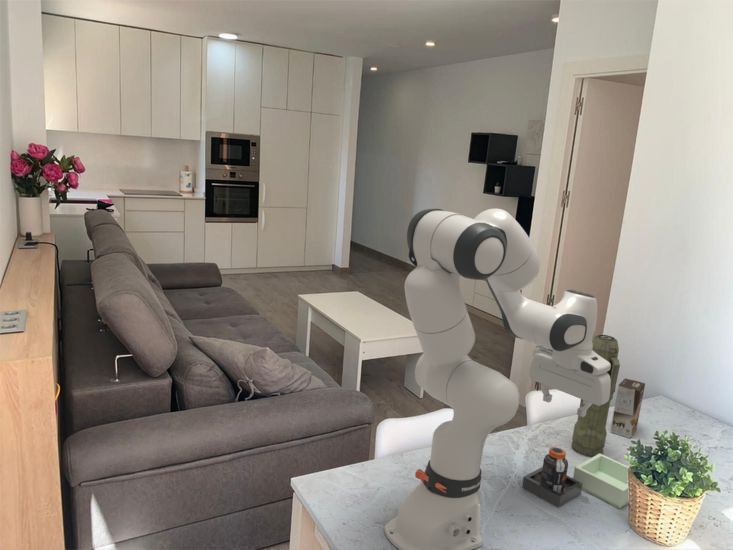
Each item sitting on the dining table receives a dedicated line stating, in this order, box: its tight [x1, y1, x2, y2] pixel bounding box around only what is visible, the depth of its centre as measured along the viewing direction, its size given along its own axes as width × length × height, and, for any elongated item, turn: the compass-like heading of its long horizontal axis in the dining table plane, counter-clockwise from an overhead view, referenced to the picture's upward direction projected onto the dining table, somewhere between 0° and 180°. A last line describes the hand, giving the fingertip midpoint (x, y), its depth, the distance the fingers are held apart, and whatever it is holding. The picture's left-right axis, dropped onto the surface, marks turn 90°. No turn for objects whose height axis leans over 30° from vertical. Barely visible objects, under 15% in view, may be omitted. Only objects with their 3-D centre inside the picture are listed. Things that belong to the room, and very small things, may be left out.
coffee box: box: [609, 378, 646, 439], centre depth 184 cm, size 9×6×16 cm
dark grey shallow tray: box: [521, 466, 583, 508], centre depth 147 cm, size 10×10×3 cm
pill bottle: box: [539, 446, 569, 493], centre depth 146 cm, size 6×6×11 cm
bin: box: [572, 453, 630, 510], centre depth 150 cm, size 13×13×5 cm
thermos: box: [571, 334, 621, 458], centre depth 167 cm, size 9×12×35 cm
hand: (563, 408), depth 143 cm, fingers open, 8 cm apart
